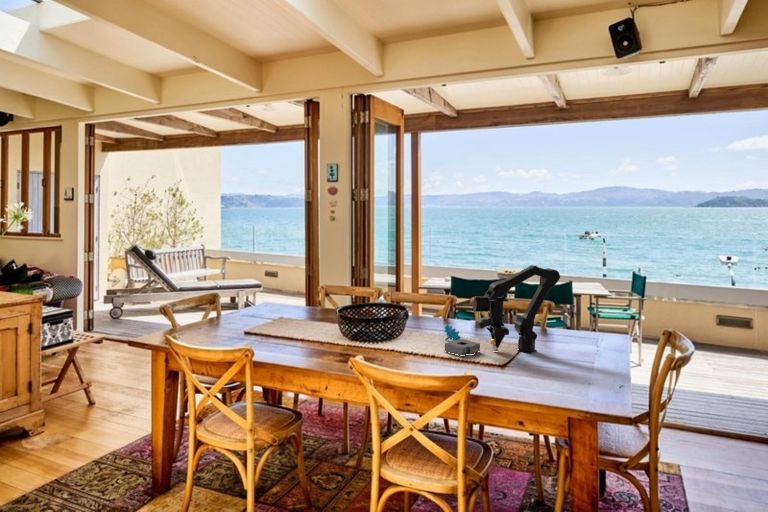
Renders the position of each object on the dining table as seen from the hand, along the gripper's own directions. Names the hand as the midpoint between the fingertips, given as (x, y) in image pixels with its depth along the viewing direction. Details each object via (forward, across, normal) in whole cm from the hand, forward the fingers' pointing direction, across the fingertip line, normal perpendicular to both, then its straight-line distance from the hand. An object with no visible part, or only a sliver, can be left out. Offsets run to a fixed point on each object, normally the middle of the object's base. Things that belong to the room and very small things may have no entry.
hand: (495, 346), depth 218 cm
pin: (+3, 0, 0) cm, 3 cm away
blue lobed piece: (+3, -19, -16) cm, 25 cm away
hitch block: (+3, 0, -15) cm, 15 cm away
